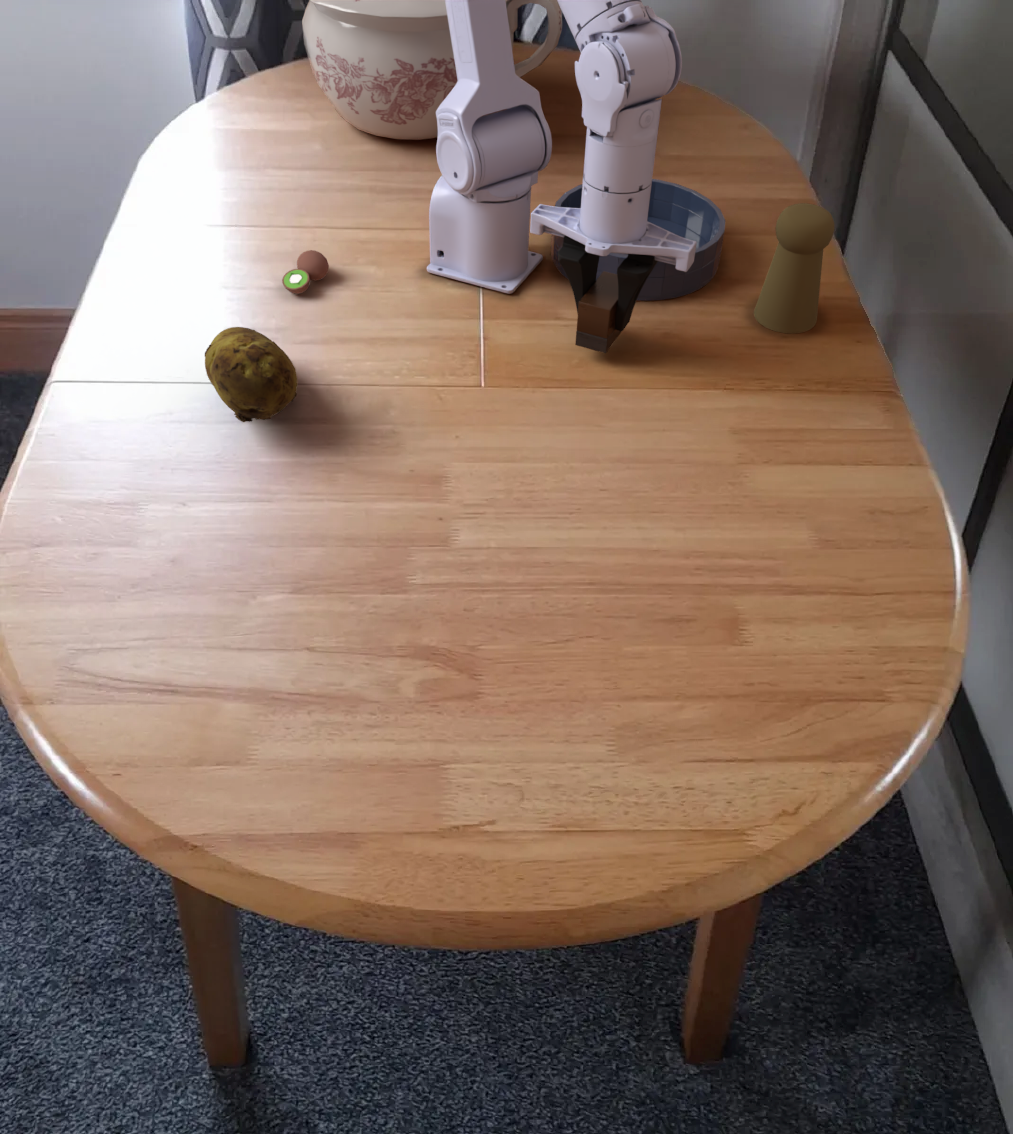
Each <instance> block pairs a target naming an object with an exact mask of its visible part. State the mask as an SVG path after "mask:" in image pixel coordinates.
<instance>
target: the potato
mask: <svg viewBox="0 0 1013 1134" xmlns="http://www.w3.org/2000/svg"><path fill="white" fill-rule="evenodd" d="M204 367H205V372H206V376H207V378H208V380H209V382H210V384H211V385H212V386H213V388H214V389H215V391H216V393H217V395H218V396H219V398H220V400H221V401H222V402H223V403H224V405H225V406H227V408H228V409H230V410H231V411H233V415H234V417H235V418H236V419H237V420H239V421H241V423H245V422H246V423H251V422H252V421H253V420H256V421H257V420H259V421H260V420H261V421H262V420H263V421H264V420H265V421H266V420H271V418H272V417H274V416H276V415H277V414H279V413H280V412H282V411H283V410H284V409H285V408H286V407H287V406H288V405H289V404H290V403H292V402H293V401H294V400H295V398H297V389H298V374H297V370H296V367H295V365H294V364H293V361H292V360H291V358H290V357H289V355H288V354H286V352H285V351H284V350H283V349H282V348H281V347H280V346H279V345H278V344H277V343H276V342H275V341H274V340H273V341H272V340H271V339H270V338H269V337H268V336H266V335H264V334H263V333H261V332H258V331H257V330H255V329H252V328H248V327H245V326H232V327H228V328H225V329H223V330H222V331H220V332H219V333H218V334H216V336H215V337H214V338H213V339H212V341H211V343H210V344H208V346H207V348H206V350H205V351H204Z"/></svg>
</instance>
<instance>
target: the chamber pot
mask: <svg viewBox="0 0 1013 1134" xmlns="http://www.w3.org/2000/svg"><path fill="white" fill-rule="evenodd" d="M505 1H506V8H507V16H508V23H509V31H510V38H511V46H512V51H513V50H514V33H515V32H516V31H517V29H518V26H519V15H518V13H519V12H518V11H519V9H520V8H521V7H523V6H525V5H529V4H534V5H539V6H541V7H542V8H544V9H545V10H546V16H547V32H546V37H545V40H544V41H543V43H542V44H541V45H540V46H539V47H538V48H537V49H536V50H535V51H534V52H533V53H532V54H531V55H530V56H529V57H526V59H524V60H522V61H519V62H518V63H514V68H515V74H516V75H517V76H518V77H520V78H522V77H524V76H525V75H527V74H528V73H530V72H532V71H533V70H535V69H537V68H538V67H540V66H541V65H542V64H543V63H544V62H545V60H547V58H548V57H549V56H550V55H552V53H553V52H554V51H555V49H556V48H557V47H558V44H559V41H560V38H561V34H562V31H563V12H562V10H561V8H560V6H559V3H558V1H557V0H505ZM301 23H302V35H303V45H304V48H305V52H306V54H307V55H306V56H307V59H308V62H309V65H310V68H311V72H312V76H313V77H314V79H315V81H316V83H317V85H318V86H319V88H320V90H321V91H322V92H323V94H324V95H325V97H326V98H327V99H328V101H329V102H330V104H331V105H332V107H333V108H334V109H335V111H336V112H337V114H338V115H339V116H340V117H341V118H342V119H343V120H344V121H345V122H347V124H349V125H351V126H353V127H354V128H355V129H357V130H358V131H360V132H361V131H362V132H365V133H367V134H370V135H373V136H376V137H381V138H388V139H395V140H401V141H402V140H403V141H404V140H408V141H409V140H410V141H411V140H412V141H419V140H428V139H436V138H437V139H438V126H437V118H436V110H437V109H438V107H439V106H440V104H441V103H442V102H443V101H444V99H445V98H446V97H447V96H448V94H449V93H450V92H451V90H452V89H453V88H454V86H455V85H456V83H457V81H458V80H457V73H456V67H455V61H454V54H453V48H452V42H451V35H450V29H449V23H448V16H447V10H446V4H445V0H308V2H307V5H306V7H305V10H304V13H303V17H302V20H301Z"/></svg>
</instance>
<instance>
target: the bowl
mask: <svg viewBox="0 0 1013 1134" xmlns="http://www.w3.org/2000/svg"><path fill="white" fill-rule="evenodd" d="M582 185H583V183H581V184H578V185H576V186H574V187H573V188H571V189H569V190H567V191H565V192H564V193H563V194H561V196H560V197H559V198H558V199H557V200H556V202H555V204H554V206H555V207H567V208H581V198H582ZM647 221H648V222H650V223H652V224H654V225H656V226H658V227H661V228H663V229H665V230H667V231H669V232H671V233H673V234H676V235H678V236H680V237H683V238H686V239H689V240H692V241H696V242H697V244H696V251H695V257H694V262H693V264H692V265H691V267H690V268H689V269H688V271H687V272H684V271H680V270H677V269H676V268H675V267H676V265H673V264H669V263H665V262H661V261H658V262H657V264H656V265H655V267H654V268H653V270H652V271H651V273H650V275H649V276H648V278H647V280H646V282H645V283H644V285H643V287H642V289H641V291H640V293H639V295H638V298H637V300H636V301H639V302H640V301H642V302H645V301H646V302H647V301H649V302H650V301H663V300H671V299H675V298H679V297H683V296H686V295H690V294H692V293H694V292H697V291H699V290H700V289H702V288H703V287H706V285H708V284H709V283H710V282H711V281H712V280H713V279H714V278H715V276H716V274H717V272H718V270H719V269H718V268H719V266H720V261H721V255H722V250H723V249H722V248H723V243H724V237H725V232H726V231H725V230H726V219H725V216H724V213H723V212H722V210H721V208H720V207H719V206H718V205H717V204H716V203H714V202H713V200H712V199H710V198H709V197H707V196H705V195H703V194H701V193H700V192H698V191H697V190H695V189H692V188H689V187H687V186H684V185H681V184H679V183H675V182H671V181H667V180H662V179H657V178H652V184H651V193H650V201H649V209H648V218H647ZM550 236H551V238H550V253H551V260H552V262H553V263H552V264H553V265H554V266H555V268H556V269H557V271H558V272H559V273H560V274H561V275H562V276H563V277H564V278H566V280H568V277H567V275H566V273H565V271H564V269H563V267H562V266H561V264H560V263H559V261H558V251H559V250H560V249H561V248H562V244H563V241H564V237H560V236H556V235H552V234H551V235H550ZM627 256H628V254H625V253H609V255H607V256H600V257H599V262H598V268H597V275H596V280H597V279H598V278H599V276H600V275H601V274H602V273H603V271H605V272H609V273H613V274H617V268H618V267H619V266H620V264H621V263H622V262H623V261H624V259H626V258H627Z"/></svg>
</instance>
